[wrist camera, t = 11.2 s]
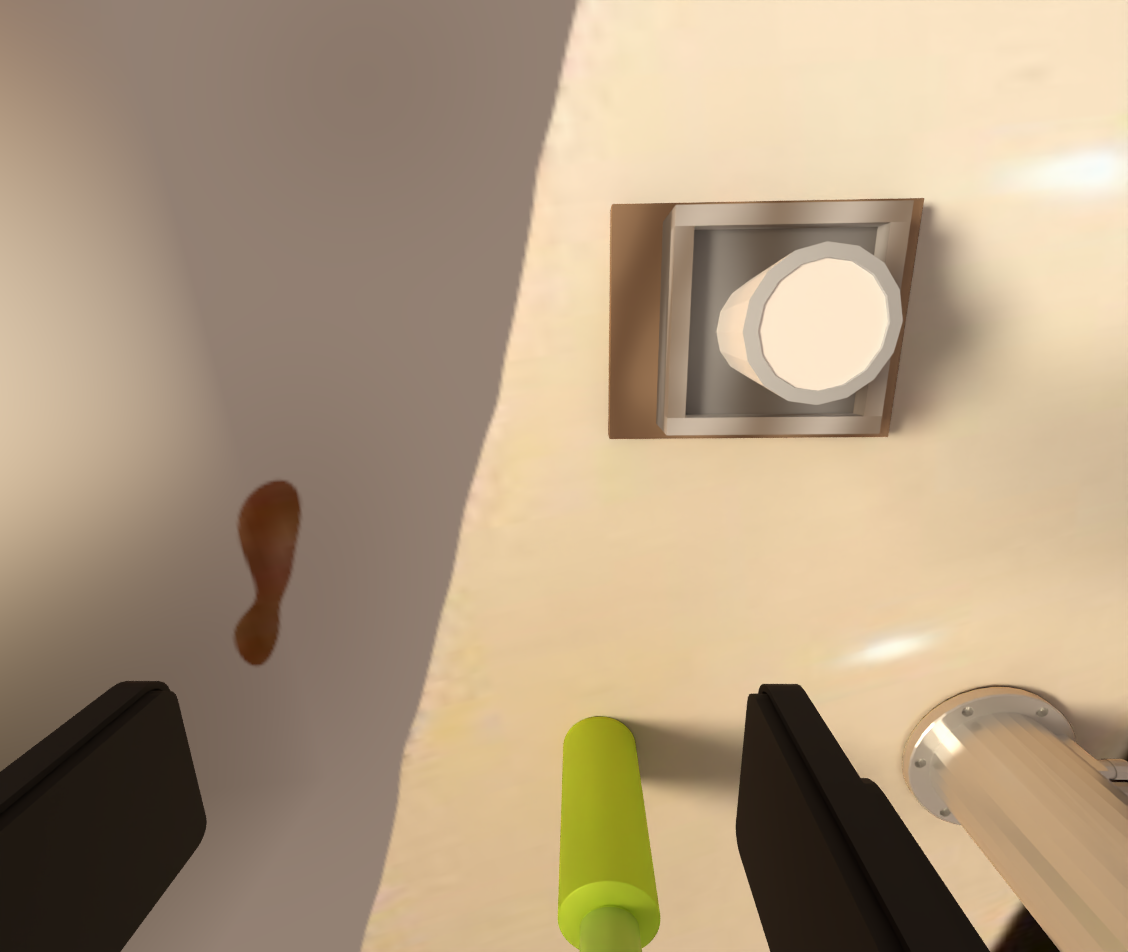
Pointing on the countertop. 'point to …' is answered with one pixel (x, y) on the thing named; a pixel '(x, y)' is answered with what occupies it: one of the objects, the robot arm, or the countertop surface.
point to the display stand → (699, 292)
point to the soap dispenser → (604, 843)
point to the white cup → (813, 323)
